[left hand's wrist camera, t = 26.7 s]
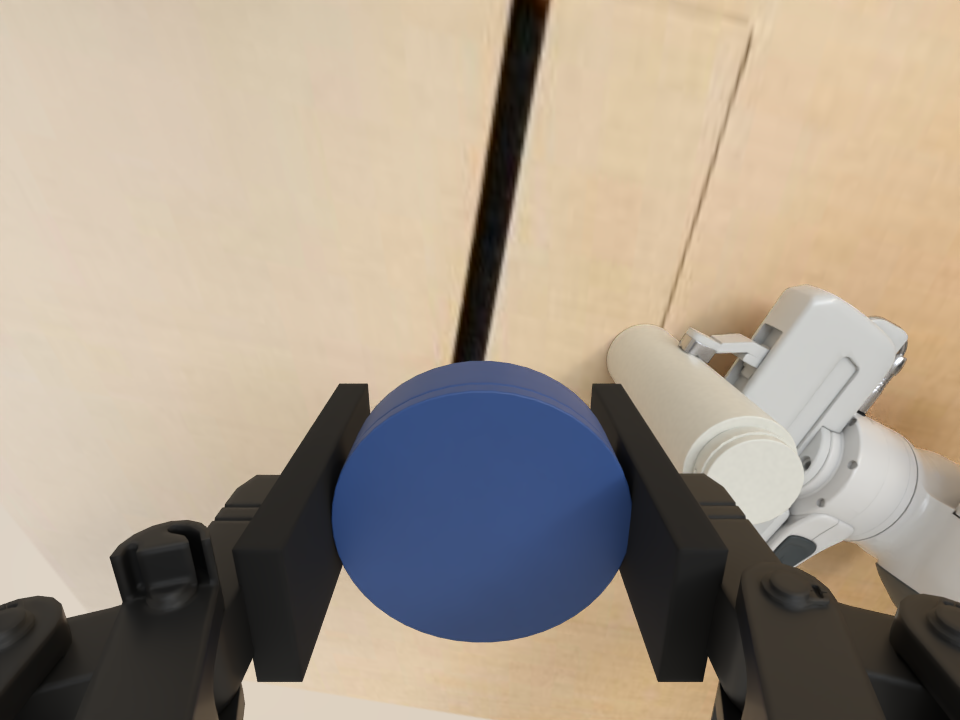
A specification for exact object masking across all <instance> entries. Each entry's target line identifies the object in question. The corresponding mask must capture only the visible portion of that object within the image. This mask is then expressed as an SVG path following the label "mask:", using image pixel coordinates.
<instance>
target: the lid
mask: <svg viewBox="0 0 960 720" xmlns="http://www.w3.org/2000/svg"><path fill="white" fill-rule="evenodd" d="M631 509H632V500H631V495H630V490H629V485H628V483H627V480H626V478H625V475H624V472H623V470H622V468H621V465H620V463H619V461H618V459H617V457H616V455H615V453H614V451H613V448H612V446H611V444H610V442H609V440H608V438H607V436H606V433H605V432H604V430H603V428H602V426H601V424H600V423H599V421H598V419H597V418H596V416H595V415H594V414H593V412H592V411H591V410H590V409H589V407H588V406H587V405H586V404H585V403H584V402H583V401H582V400H581V399H580V398H579V397H578V396H577V395H576V394H575V393H573V392H572V391H571V390H569V389H568V388H567V387H565V386H564V385H563V384H561V383H560V382H558V381H556V380H554V379H552V378H550V377H549V376H547V375H545V374H542V373H540V372H537V371H535V370H532V369H529V368H526V367H522V366H518V365H514V364H510V363H503V362H494V361H469V362H461V363H454V364H449V365H446V366H442V367H438V368H434V369H432V370H429V371H427V372H424V373H422V374H419V375H417V376H415V377H413V378H412V379H410V380H408V381H406V382H404V383H403V384H401V385H400V386H399V387H397V388H396V389H395V390H393V391H392V392H391V393H389V394H388V395H387V396H386V397H385V398H384V399H383V400H382V401H381V402H380V403H379V404H378V405H377V406H376V407H375V408H374V410H373V411H372V412H371V414H370V415H369V416H368V417H367V419H366V420H365V422H364V424H363V426H362V428H361V429H360V431H359V433H358V435H357V437H356V440H355V442H354V444H353V446H352V448H351V451H350V453H349V455H348V457H347V459H346V462H345V464H344V466H343V468H342V470H341V473H340V475H339V478H338V481H337V484H336V486H335V491H334V496H333V501H332V515H331V522H332V530H333V538H334V541H335V545H336V548H337V552H338V555H339V557H340V559H341V561H342V564H343V566H344V568H345V570H346V571H347V573H348V575H349V576H350V578H351V579H352V581H353V582H354V584H355V585H356V586H357V587H358V588H359V590H360V591H361V592H362V593H363V594H364V595H365V596H366V597H367V598H368V599H369V600H370V601H371V602H372V603H373V604H374V605H375V606H376V607H378V608H379V609H381V610H382V611H383V612H385V613H386V614H387V615H389V616H390V617H392V618H394V619H395V620H397V621H399V622H401V623H403V624H404V625H406V626H409V627H411V628H413V629H416V630H418V631H420V632H423V633H426V634H430V635H433V636H436V637H440V638H445V639H450V640H455V641H465V642H499V641H509V640H514V639H519V638H523V637H528V636H531V635H534V634H537V633H540V632H544V631H546V630H548V629H550V628H553V627H555V626H557V625H560V624H561V623H563V622H565V621H567V620H568V619H570V618H572V617H574V616H575V615H577V614H578V613H579V612H581V611H582V610H583V609H585V608H586V607H587V606H589V605H590V604H591V603H592V602H593V601H594V600H595V599H596V598H597V597H598V596H599V595H600V594H601V593H602V592H603V591H604V590H605V588H606V587H607V586H608V585H609V583H610V582H611V581H612V579H613V578H614V576H615V574H616V573H617V571H618V570H619V568H620V566H621V564H622V561H623V559H624V557H625V555H626V552H627V544H628V536H629V527H630V519H631Z"/></svg>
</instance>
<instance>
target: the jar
mask: <svg viewBox="0 0 960 720" xmlns="http://www.w3.org/2000/svg"><path fill="white" fill-rule="evenodd" d="M678 344H679V341H678V340H677V339H676V338H674V337H673V336H672V335H671V334H670V333H668V332H667V331H666V330H665V329H663V328H661V327H659V326H656V325H651V324H640V325H636V326H632V327H630V328H628V329H626V330H624V331H623V332H621V333H620V334H619V335H618V336H617V337H616V338H615V339H614V341H613V342H612V344H611V346H610V348H609V350H608V354H607V367H608V371H609V374H610V375H611V377H612V379H613V380H614V382H615V383H616V384H621V385H622V386H623V388H624V389H625V391H626V392H627V394H628V396H629V397H630V399H631V400H632V402H633V403H634V405H635V406H636V408H637V409H638V411H639V412H640V414H641V416H642V417H643V419H644V420H645V422H646V423H647V425H648V426H649V428H650V429H651V431H652V433H653V434H654V436H655V437H656V439H657V440H658V442H659V443H660V445H661V446H662V448H663V450H664V451H665V453H666V454H667V456H668V457H669V459H670V460H671V462H672V463H673V465H674V466H675V468H676V470H677V471H678V473H704V474H706V475H707V476H708V477H710V478H711V479H713V480H714V481H716V482H717V483H719V484H720V485H722V486H723V487H724V488H725V489H726V491H727V492H728V493H729V494H730V496H731V497H732V498H733V500H734V501H735V502H736V506H739V508H740V509H741V510H742V512H743V513H744V514H745V515H746V519H749V521H750V522H751V523H752V525H753V524H754V525H756V524H759V523H763V522H766V521H770V520H772V519H774V518H775V517H777V516H779V515H780V516H781V515H782V514H783V513H784V512H785V511H787V510H788V509H789V508H790V507H791V505H792V504H793V503H794V502H795V500H796V499H797V497H798V495H799V493H800V492H801V489H802V486H803V481H804V469H803V465H802V462H801V460H800V458H799V456H798V453H797V448H796V444H795V442H794V440H793V438H792V436H791V435H790V433H789V432H788V431H787V430H786V429H785V428H784V427H783V426H781V425H780V424H779V423H778V422H777V421H775V420H774V419H773V418H772V417H770V416H769V415H768V414H767V413H766V412H764V411H763V410H762V409H761V408H760V407H758V406H757V405H756V404H755V403H753V402H752V401H751V400H750V399H749V398H747V397H746V396H745V395H744V394H743V393H741V392H740V391H739V390H738V389H736V388H735V387H734V386H733V385H732V384H730V383H729V382H728V381H727V380H725V379H724V378H723V377H722V376H721V375H719V374H718V373H717V372H716V371H715V370H713V369H712V368H711V367H710V366H708V365H707V364H706V363H705V362H704V361H702V360H701V359H699V358H698V357H697V356H693V355H691V354H689V353H687V352H685V351H684V350H683V349H682V348H681V347H679V346H678Z"/></svg>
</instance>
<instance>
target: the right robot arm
mask: <svg viewBox="0 0 960 720" xmlns="http://www.w3.org/2000/svg"><path fill="white" fill-rule="evenodd" d="M907 339H908V335H907V334H906V332H905V331H904V330H903V329H902V328H901V327H899V326H898V325H896V324H894V323H892V322H890V321H889V320H887V319H885V318H883V317H879V316H868V317H867V316H866V315H864V314H863V313H862V312H860V311H859V310H858V309H856V308H855V307H854V306H852V305H851V304H849V303H848V302H846V301H845V300H843V299H841V298H840V297H838V296H836V295H835V294H833V293H830V292H828V291H826V290H823V289H820V288H818V287H814V286H810V285H800V286H794V287H790V288H787V289H786V290H785V291H784V292H783V293H782V294H781V296H780V297H779V299H778V300H777V302H776V303H775V304H774V306H773V307H772V309H771V310H770V312H769V313H768V315H767V316H766V317H765V319H764V320H763V322H762V323H761V325H760V326H759V327H758V329H757V330H756V332H755V333H754V335H753V336H752V337H751V339H749V338H747V337H745V336H744V335H742V334H740V333H735V334H722V335H711V336H710V337H709V336H707V335H705V334H704V333H702V332H700V331H698V330H696V329H694V328H692V327H689V329H688V330H687V332H686V333H685V335H684V336H683V338H682V339H681V341H680V342H679V344H678V346H679V347H681V348H682V349H683V350H684V351H685V352H687V353H689V354H691V355H693V356H697V357H698V358H699V359H701V360H702V361H704V362H706V363H709V361H710V360H711V358H712V357H713V356H714V354H715V353H732V354H734V355H735V356H736V357H738V358H737V359H736V360H735V362H734V363H733V365H732V366H731V368H730V369H729V370H728V372H727V373H726V375H725V376H724V379H725V380H727V381H728V382H729V383H730V384H732V385H733V386H734V387H735V388H736V389H738V390H739V391H740V392H741V393H743V394H744V395H745V396H746V397H747V398H749V399H750V400H751V401H752V402H753V403H755V404H756V405H757V406H758V407H760V408H761V409H762V410H763V411H764V412H766V413H767V414H768V415H769V416H770V417H772V418H773V419H774V420H775V421H777V422H778V423H779V424H780V425H781V426H783V427H784V428H785V429H786V430H787V431H788V432H789V433H790V435H791V436H792V438H793V440H794V442H795V444H796V448H797V453H798V456H799V458H800V460H801V462H802V465H803V469H804V481H803V486H802V489H801V492H800V493H799V495H798V497H797V499H796V500H795V502H794V503H793V504H792V505H791V507H790V508H789V509H788V510H787V511H785V512H784V513H783V514H782V515H781V516H780V515H779V516H777V517H775V518H774V519H772V520H770V521H766V522H763V523H759V524H756V525H754V524H753V526H754V527H755V529H756V530H757V531H758V533H759V534H760V535H761V537H762V538H763V539H764V540H765V542H766V543H767V544H768V546H769V547H770V548H771V550H772V551H773V552H774V554H775V555H776V556H777V558H778V559H779V560H780V562H781V563H782V564H785V565H789V566H792V567H796V566H798V565H799V564H801V563H802V562H804V561H806V560H807V559H809V558H810V557H812V556H814V555H816V554H817V553H819V552H821V551H823V550H825V549H827V548H829V547H831V546H833V545H835V544H837V543H840V542H842V541H847V542H852V543H855V544H857V545H858V546H859V547H860V548H861V549H863V550H864V551H865V552H866V553H868V554H870V555H871V556H873V557H874V558H876V559H878V562H877V563H876V567H877V570H878V573H879V576H880V578H881V580H882V582H883V584H884V586H885V588H886V590H887V592H888V594H889V596H890V598H891V600H892V601H893V603H894V604H895V606H896V607H897V608H898V606H899V603H900V601H902V600H903V599H904V598H905V597H907V596H908V595H915V594H929V595H935V596H941V597H945V598H948V599H951V600H954V601H957V602H959V603H960V465H959V464H957V463H955V462H953V461H952V460H950V459H948V458H946V457H944V456H942V455H940V454H938V453H935V452H932V451H929V450H926V449H921V448H915V447H914V446H913V444H912V443H911V442H910V441H908V440H907V439H906V438H905V437H904V436H902V435H901V434H899V433H897V432H896V431H894V430H892V429H890V428H888V427H886V426H884V425H882V424H880V423H878V422H877V421H875V420H873V419H871V418H869V417H867V416H866V415H865V414H866V413H867V411H868V410H869V409H870V408H871V406H872V405H873V404H874V403H875V402H876V400H877V399H878V398H879V396H880V395H881V394H882V392H883V390H884V388H885V387H886V384H888V383H889V381H890V380H891V379H892V378H893V376H896V375H897V374H898V373H899V372H900V371H901V369H902V368H903V366H904V365H905V363H906V361H907V359H906V358H905V357H903V356H904V354H905V352H906V349H907V344H908V340H907Z"/></svg>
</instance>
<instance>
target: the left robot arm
mask: <svg viewBox="0 0 960 720" xmlns="http://www.w3.org/2000/svg"><path fill="white" fill-rule="evenodd" d="M591 411H592V412H593V414H594V415H595V416H596V418H597V419H598V421H599V423H600V424H601V426H602V428H603V430H604V432H605V433H606V436H607V438H608V440H609V442H610V444H611V446H612V448H613V451H614V453H615V455H616V457H617V459H618V461H619V463H620V465H621V468H622V470H623V472H624V475H625V478H626V480H627V483H628V485H629V490H630V495H631V500H632V509H631V519H630V527H629V536H628V544H627V552H626V555H625V557H624V559H623V561H622V564H621V566H620V568H619V570H620V573H621V576H622V579H623V582H624V585H625V588H626V590H627V593H628V596H629V599H630V602H631V605H632V608H633V611H634V614H635V617H636V619H637V622H638V625H639V628H640V631H641V634H642V637H643V640H644V643H645V646H646V648H647V651H648V654H649V657H650V660H651V663H652V666H653V669H654V672H655V675H656V677H657V680H658V682H703V678H704V673H705V668H706V663H707V658H708V657H709V659H710V661H711V663H712V666H713V668H714V670H715V672H716V674H717V676H718V678H719V684H718V688H717V693H716V698H715V703H714V707H713V712H712V717H711V720H960V603H959V602H957V601H954V600H951V599H948V598H945V597H941V596H935V595H929V594H915V595H908V596H907V597H905V598H904V599H903V600H902V601H900V603H899V606H898V608H897V611H896V614H895V616H892V615H887V614H883V613H879V612H874V611H870V610H866V609H861V608H857V607H852V606H849V605H845V604H842V603H839V602H837V600H836V599H835V597H834V596H833V594H832V593H831V591H830V590H829V589H828V588H827V587H826V586H825V585H824V584H822V583H821V582H820V581H819V580H818V579H816V578H815V577H813V576H812V575H810V574H808V573H806V572H804V571H802V570H800V569H798V568H795V567H792V566H789V565H785V564H782V563H781V562H780V560H779V559H778V558H777V556H776V555H775V554H774V552H773V551H772V550H771V548H770V547H769V546H768V544H767V543H766V542H765V540H764V539H763V538H762V537H761V535H760V534H759V533H758V531H757V530H756V529H755V527H754V526H753V525H752V523H751V522H750V521H749V519H746V515H745V514H744V513H743V512H742V510H741V509H740V508H739V506H736V502H735V501H734V500H733V498H732V497H731V496H730V494H729V493H728V492H727V491H726V489H725V488H724V487H723V486H722V485H720V484H719V483H717V482H716V481H714V480H713V479H711V478H710V477H708V476H707V475H706V474H704V473H678V471H677V470H676V468H675V466H674V465H673V463H672V462H671V460H670V459H669V457H668V456H667V454H666V453H665V451H664V450H663V448H662V446H661V445H660V443H659V442H658V440H657V439H656V437H655V436H654V434H653V433H652V431H651V429H650V428H649V426H648V425H647V423H646V422H645V420H644V419H643V417H642V416H641V414H640V412H639V411H638V409H637V408H636V406H635V405H634V403H633V402H632V400H631V399H630V397H629V396H628V394H627V392H626V391H625V389H624V388H623V386H622V385H621V384H593V385H592V397H591ZM369 415H370V406H369V393H368V384H339V385H338V387H337V388H336V390H335V391H334V393H333V394H332V396H331V398H330V399H329V401H328V402H327V404H326V405H325V407H324V408H323V410H322V411H321V413H320V415H319V416H318V418H317V419H316V421H315V422H314V424H313V425H312V427H311V428H310V430H309V432H308V433H307V435H306V436H305V438H304V439H303V441H302V442H301V444H300V445H299V447H298V448H297V450H296V452H295V453H294V455H293V456H292V458H291V459H290V461H289V462H288V464H287V465H286V467H285V469H284V470H283V472H282V473H281V475H256V476H255V477H253V478H252V479H250V480H249V481H247V482H246V483H244V484H243V485H241V486H240V487H239V488H237V489H236V490H235V492H234V493H233V494H232V496H231V497H230V498H229V500H228V501H227V502H226V504H225V508H222V509H221V510H220V512H219V513H218V514H217V516H216V517H215V521H212V522H211V524H210V525H209V526H208V528H207V527H206V526H204V525H203V524H202V523H199V522H195V521H190V520H181V521H170V522H166V523H162V524H158V525H155V526H151V527H149V528H147V529H145V530H143V531H141V532H138V533H136V534H134V535H133V536H131V537H130V538H128V539H127V540H126V541H124V542H123V543H122V544H120V545H119V546H118V547H117V548H116V550H115V551H114V552H113V554H112V555H111V556H110V560H111V564H112V567H113V571H114V574H115V577H116V581H117V584H118V588H119V591H120V594H121V598H122V601H123V603H122V605H119V606H116V607H113V608H109V609H105V610H100V611H96V612H92V613H87V614H83V615H78V616H74V617H70V618H66V616H65V613H64V610H63V607H62V604H61V603H59V602H58V601H57V600H56V599H54V598H52V597H44V596H34V597H28V598H22V599H17V600H14V601H12V602H8V603H6V604H3V605H0V720H243V716H244V707H245V701H244V694H243V688H242V684H241V682H242V680H243V678H244V675H245V673H246V671H247V669H248V667H249V665H250V662H251V660H252V658H253V661H254V666H255V672H256V677H257V682H302V681H303V678H304V675H305V673H306V670H307V667H308V664H309V661H310V658H311V655H312V652H313V649H314V646H315V644H316V641H317V638H318V635H319V632H320V629H321V626H322V623H323V620H324V618H325V615H326V612H327V609H328V606H329V603H330V600H331V597H332V594H333V591H334V589H335V586H336V583H337V580H338V577H339V574H340V571H341V568H342V565H343V564H342V561H341V559H340V557H339V555H338V552H337V548H336V545H335V541H334V538H333V530H332V522H331V515H332V501H333V496H334V491H335V486H336V484H337V481H338V478H339V475H340V473H341V470H342V468H343V466H344V464H345V462H346V459H347V457H348V455H349V453H350V451H351V448H352V446H353V444H354V442H355V440H356V437H357V435H358V433H359V431H360V429H361V428H362V426H363V424H364V422H365V420H366V419H367V417H368V416H369Z"/></svg>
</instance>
